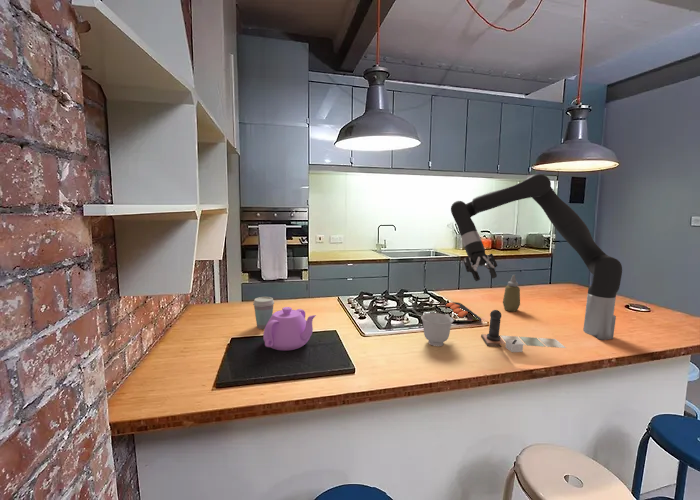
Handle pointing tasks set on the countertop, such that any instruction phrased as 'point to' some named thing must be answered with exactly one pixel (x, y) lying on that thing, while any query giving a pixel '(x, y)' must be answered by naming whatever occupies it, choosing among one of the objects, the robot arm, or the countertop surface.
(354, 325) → the countertop surface
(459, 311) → the sushi plate
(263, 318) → the coffee cup
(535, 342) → the board
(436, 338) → the teacup
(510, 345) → the die
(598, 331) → the robot arm
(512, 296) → the squeeze bottle
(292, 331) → the teapot
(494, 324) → the pawn
